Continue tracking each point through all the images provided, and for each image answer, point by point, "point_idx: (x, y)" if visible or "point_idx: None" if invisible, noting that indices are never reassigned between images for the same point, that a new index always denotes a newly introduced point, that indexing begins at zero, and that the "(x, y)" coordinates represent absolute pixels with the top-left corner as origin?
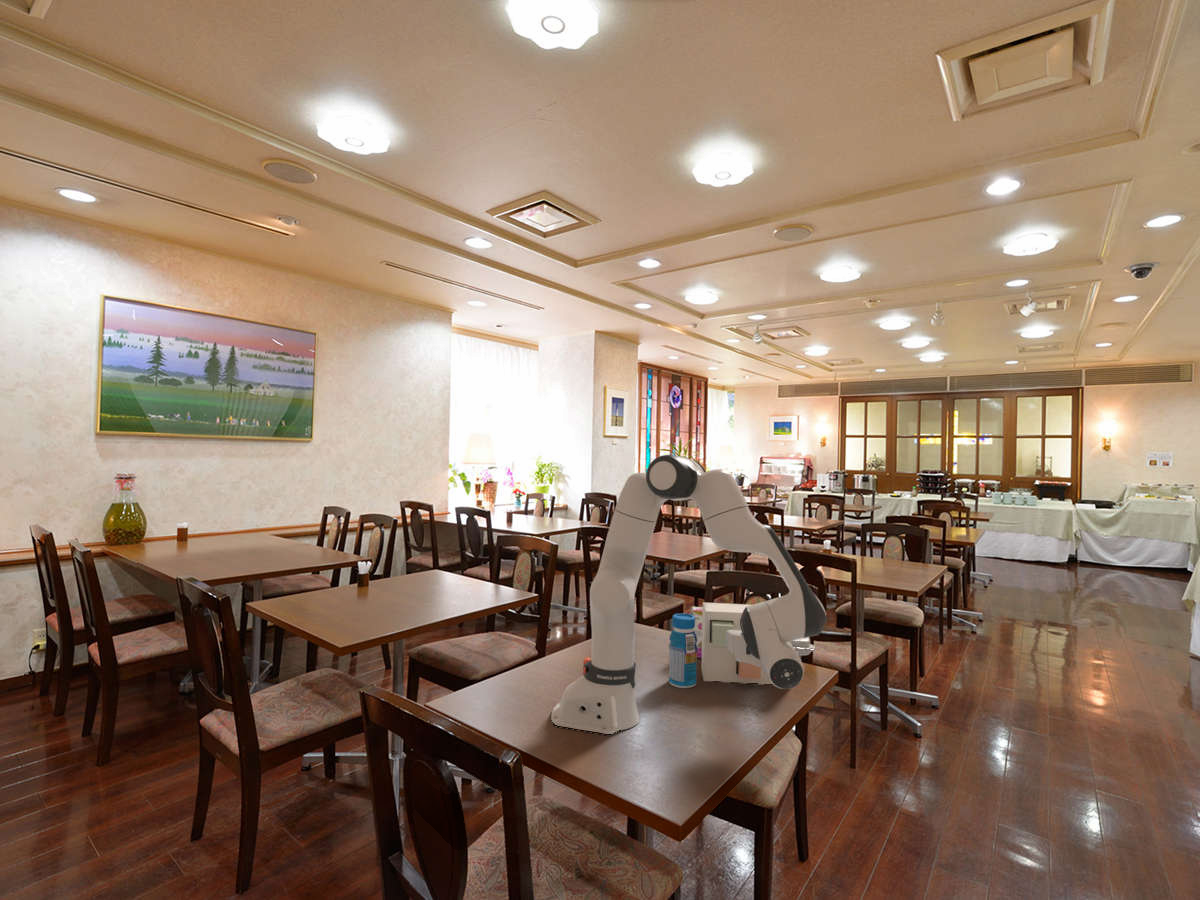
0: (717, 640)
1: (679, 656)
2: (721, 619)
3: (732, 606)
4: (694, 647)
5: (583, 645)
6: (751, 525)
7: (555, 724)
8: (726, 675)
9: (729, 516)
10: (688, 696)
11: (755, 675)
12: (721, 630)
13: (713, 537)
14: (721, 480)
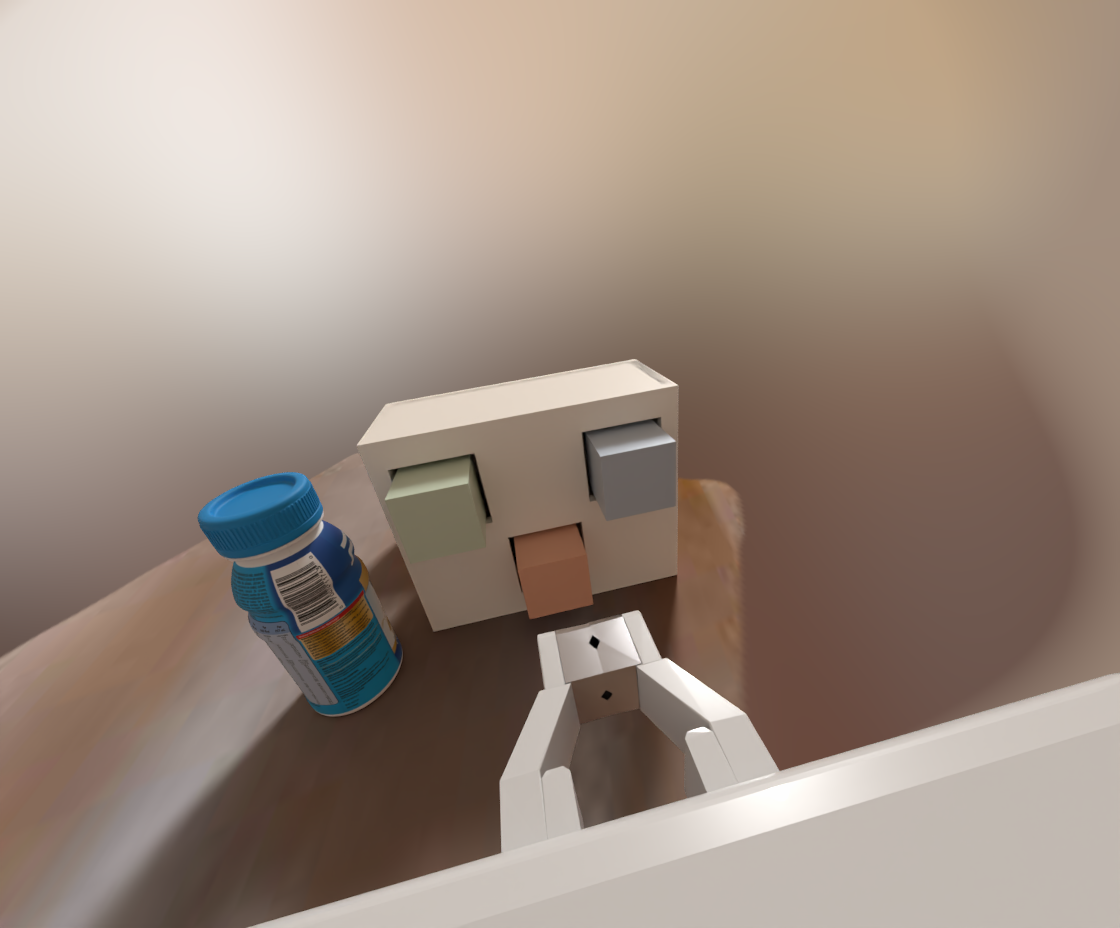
0: (422, 544)
1: (282, 646)
2: (429, 459)
3: (474, 397)
4: (338, 594)
5: (187, 551)
6: None
7: None
8: (494, 602)
9: None
10: (344, 783)
11: (576, 600)
12: (425, 509)
13: None
14: None
